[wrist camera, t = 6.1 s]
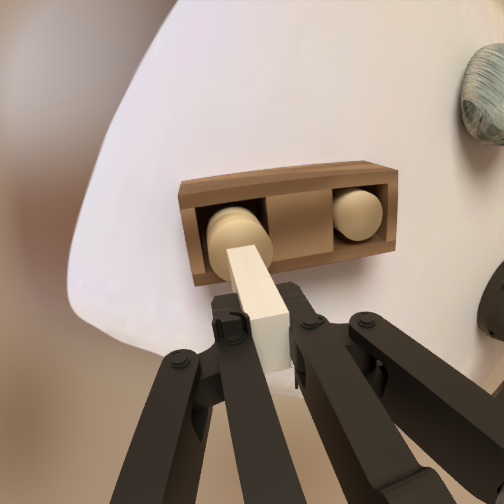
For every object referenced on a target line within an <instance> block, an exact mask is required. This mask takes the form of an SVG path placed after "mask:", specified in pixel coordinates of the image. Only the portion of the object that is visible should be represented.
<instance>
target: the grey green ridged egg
mask: <svg viewBox="0 0 504 504" xmlns="http://www.w3.org/2000/svg"><path fill="white" fill-rule="evenodd" d="M461 112H462V120H463V123H464V125H465V127H466V129H467V131H468V132H469V133H470V134H471V135H472V136H473V137H474V138H475V139H476V140H478V141H479V142H481V143H483V144H487V145H495V146H502V145H504V44H503V43H496V44H491V45H487V46H485V47H483V48H481V49H480V50H478V51H477V52H476V53H475V54H474V56H473V57H472V58H471V59H470V61H469V63H468V65H467V68H466V71H465V75H464V79H463V84H462V92H461Z"/></svg>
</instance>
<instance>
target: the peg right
mask: <svg viewBox="0 0 504 504" xmlns="http://www.w3.org/2000/svg"><path fill="white" fill-rule="evenodd" d="M332 203H333V227H335V228H336V229H337V230H338V231H340V232H341V233H342V234H343V235H345V236H346V237H347V238H349V239H351V240H354V241H362V240H365V239H367V238H369V237H371V236H372V235H373V234H374V233H375V232H376V231H377V230H378V228H379V226H380V224H381V221H382V216H383V211H382V206H381V203H380V201H379V200H378V198H377V197H376V196H374V195H373V194H371V193H369V192H366V191H364V190H362V189H360V188H357V187H355V186H354V187H345V188H335V189H332Z"/></svg>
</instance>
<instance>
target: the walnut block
mask: <svg viewBox="0 0 504 504" xmlns="http://www.w3.org/2000/svg"><path fill="white" fill-rule="evenodd" d="M354 186H355V187H357V188H360V189H362V190H364V191H366V192H369V193H371V194H373V195H374V196H376V197H377V198H378V200H379V201H380V203H381V206H382V211H383V216H382V221H381V224H380V226H379V228H378V230H377V231H376V232H375V233H374V234H373V235H372V236H371V237H369V238H367V239H365V240H362V241H354V240H351V239H349V238H347V237H346V236H345V235H343V234H342V233H341V232H340V231H338V230H337V229H336V228H335V227H333V203H332V189H335V188H345V187H354ZM178 201H179V206H180V212H181V218H182V224H183V229H184V234H185V240H186V245H187V250H188V256H189V261H190V266H191V271H192V276H193V280H194V285H195V287H196V286H202V285H208V284H214V283H220V282H226V281H225V280H223V279H222V278H220V277H219V276H218V275H217V274H216V273H215V272H214V271H213V269H212V267H211V265H210V261H209V254H208V245H207V236H206V225H207V221H208V219H209V217H210V215H211V214H212V213H213V212H214V211H215V210H216V209H217V208H219V207H221V206H223V205H226V204H240V205H243V206H245V207H247V208H249V209H250V210H251V211H252V212H253V213H254V215H255V216H256V218H257V219H258V221H259V222H260V224H261V225H262V227H263V228H264V230H265V231H266V233H267V235H268V236H269V238H270V240H271V242H272V245H273V259H272V262H271V264H270V266H269V268H268V269H267V270H268V272H269V274H273V273H279V272H285V271H290V270H296V269H301V268H307V267H313V266H318V265H323V264H329V263H334V262H340V261H345V260H350V259H355V258H361V257H366V256H371V255H376V254H381V253H386V252H391V251H395V245H396V229H397V207H398V170H395V169H392V168H388V167H385V166H381V165H377V164H374V163H370V162H366V161H350V162H336V163H324V164H312V165H302V166H292V167H282V168H273V169H265V170H257V171H249V172H241V173H234V174H226V175H219V176H213V177H206V178H200V179H193V180H187V181H182V182H181V185H180V189H179V193H178Z"/></svg>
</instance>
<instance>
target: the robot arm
mask: <svg viewBox="0 0 504 504" xmlns="http://www.w3.org/2000/svg"><path fill="white" fill-rule="evenodd" d="M226 251H227V257H228V264H229V271H230V278H231V284H232V291H233V293H231V294H226V295H220V296H215V297H214V299H213V301H212V302H211V306H212V313H213V320H212V327H213V332H214V337H215V342H214V344H213V345H212V346H211V347H210V348H209V349H208V350H206V351H204V352H202V353H199V354H196V353H195V352H193V351H192V350H187V349H180V350H176V351H173V352H170V353H169V354H168V355H166V356H165V357H164V359H163V360H162V363H161V365H160V368H159V370H158V373H157V375H156V378H155V380H154V383H153V385H152V388H151V390H150V393H149V396H148V398H147V401H146V403H145V406H144V409H143V411H142V414H141V417H140V419H139V422H138V425H137V428H136V430H135V433H134V435H133V438H132V441H131V444H130V446H129V449H128V452H127V455H126V458H125V460H124V463H123V466H122V469H121V472H120V475H119V477H118V480H117V483H116V486H115V489H114V492H113V495H112V498H111V501H110V504H195V501H196V496H197V490H198V485H199V480H200V474H201V469H202V464H203V458H204V452H205V448H206V442H207V436H208V431H209V426H210V421H211V416H212V410H213V406H214V405H216V404H218V403H220V402H222V401H225V404H226V410H227V416H228V421H229V427H230V432H231V438H232V443H233V448H234V454H235V459H236V464H237V469H238V474H239V478H240V483H241V488H242V493H243V498H244V503H245V504H307V503H306V500H305V497H304V494H303V491H302V488H301V485H300V482H299V479H298V476H297V473H296V471H295V467H294V465H293V462H292V459H291V456H290V453H289V450H288V447H287V444H286V441H285V438H284V435H283V432H282V429H281V425H280V423H279V419H278V416H277V413H276V410H275V407H274V404H273V401H272V398H271V394H270V391H269V388H268V385H267V382H266V379H265V375H264V374H265V373H269V372H274V371H279V370H283V369H288V368H292V367H291V359H292V362H293V364H294V367H295V389H298V385H299V387H300V390H301V392H302V394H303V397H304V399H305V402H306V404H307V406H308V409H309V411H310V414H311V416H312V419H313V421H314V423H315V426H316V428H317V431H318V433H319V435H320V438H321V440H322V443H323V445H324V447H325V450H326V452H327V455H328V457H329V459H330V461H331V464H332V466H333V469H334V471H335V473H336V476H337V478H338V480H339V483H340V485H341V488H342V490H343V493H344V495H345V497H346V500H347V502H348V504H457V503H456V502H455V500H454V499H453V497H452V495H451V494H450V492H449V490H448V489H447V487H446V485H445V484H444V482H443V481H442V479H441V478H440V476H439V475H438V473H437V472H436V471H435V470H434V469H432V468H431V467H422V466H421V465H420V464H419V463H418V462H417V460H416V459H415V457H414V455H413V454H412V452H411V450H410V449H409V447H408V445H407V444H406V442H405V441H404V439H403V437H402V436H401V434H400V432H399V431H398V429H397V428H396V426H395V425H394V423H395V424H396V425H397V426H398V427H399V428H400V429H401V430H402V431H403V432H404V433H405V434H406V435H407V436H408V437H409V438H411V439H412V440H413V441H414V442H415V443H416V444H417V445H418V446H419V447H420V448H421V449H422V450H423V451H424V452H425V453H427V454H428V455H429V456H430V457H431V458H432V459H433V460H434V461H435V462H436V463H437V464H438V465H440V466H441V467H442V468H443V469H444V470H445V471H446V472H447V473H448V474H450V476H452V477H453V478H454V479H455V480H456V481H457V482H458V483H459V484H460V485H461V486H463V487H464V488H465V489H466V490H467V491H468V492H470V493H471V494H472V495H473V496H475V497H476V498H478V499H480V500H481V501H483V502H485V503H487V504H504V381H503V382H502V383H501V384H500V385H499V387H498V388H497V389H496V390H495V391H494V393H493V394H492V395H490V394H489V393H487V392H486V391H485V390H483V389H482V388H481V387H479V386H478V385H477V384H475V383H474V382H472V381H471V380H470V379H468V378H467V377H466V376H464V375H463V374H461V373H460V372H459V371H457V370H456V369H454V368H453V367H452V366H450V365H449V364H448V363H446V362H445V361H443V360H442V359H441V358H439V357H438V356H436V355H435V354H434V353H432V352H431V351H429V350H428V349H427V348H425V347H424V346H422V345H421V344H419V343H418V342H417V341H415V340H414V339H412V338H411V337H410V336H408V335H407V334H405V333H404V332H402V331H401V330H400V329H398V328H397V327H395V326H394V325H393V324H391V323H390V322H388V321H387V320H385V319H384V318H383V317H381V316H380V315H378V314H376V313H373V312H359V313H356V314H354V315H353V316H351V318H350V320H349V323H344V324H335V323H329V321H328V320H327V319H326V318H325V317H324V316H322V315H320V314H316V313H315V311H314V309H313V308H312V306H311V305H310V303H309V301H308V300H307V298H306V297H305V295H304V294H303V292H302V291H301V289H300V287H299V286H297V285H296V284H294V283H292V282H288V283H282V284H277V285H275V284H274V282H273V280H272V278H271V276H270V274H269V272H268V270H267V268H266V266H265V264H264V262H263V260H262V259H261V257H260V255H259V253H258V251H257V249H256V247H255V245H249V246H243V247H237V248H231V249H226ZM478 325H479V327H480V329H481V330H482V331H483V332H485V333H486V334H487V335H488V336H490V337H492V338H495V339H498V340H500V341H503V342H504V262H503V263H502V264H501V265H500V266H499V267H498V269H497V270H496V272H495V273H494V275H493V276H492V278H491V280H490V281H489V283H488V285H487V287H486V290H485V292H484V294H483V297H482V300H481V303H480V306H479V311H478ZM380 362H381V363H380ZM393 422H394V423H393Z"/></svg>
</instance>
